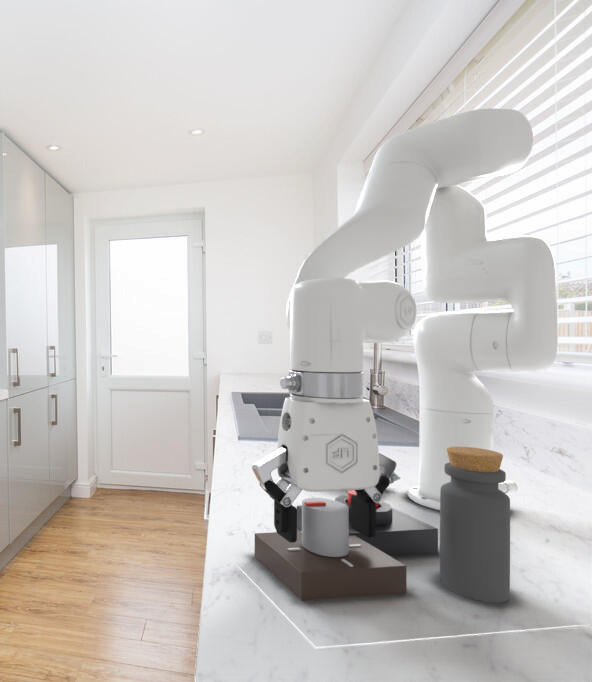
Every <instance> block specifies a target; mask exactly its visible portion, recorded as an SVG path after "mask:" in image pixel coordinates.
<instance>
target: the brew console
mask: <svg viewBox="0 0 592 682" xmlns="http://www.w3.org/2000/svg"><path fill="white" fill-rule="evenodd" d="M254 559H256V560H257V561H258V562H259V563H260V564H261V565H262V566H263V567H264V568H265V569H267V570H268V571H269V572H270V573H271V574H272V575H273V576H274V577H275V578H276V579H278V580H279V582H281V583H282V585H284V586H285V587H286V588H287V589H288V590H289V591H290V592H291V593H292V594H293V595H295V597H297V598H298V600H300V601H301V602H303V601H319V600H329V599H330V600H331V599H347V598H358V597H359V598H360V597H373V596H387V595H401V594H402V595H403V594H407V573H408V571H407V567H408V566H407V565H406V564H404V563H403V562H401V561H399V560H397V559H396V558H395V557H393V556H389V555H387V554H386V553H384V552H382V551H380V550H379V549H377V548H375V547H374V546H372V545H370V544H369V543H367V542H365V541H364V540H362V539H360V538H358V537H357V536H355V535H349V553H348V554H347V555H346V556H343V557H328V556H322V555H319V554H315V553H313V552H310V551H308V550H307V549H305V548H304V547H303V546H302V531H301V530H297V541H296V542H292V543H290V542H289V541H287V540H286V539H285V538H283V537H282V536H280V535H279V534H278V533H277V531H276V532H257V533H255V532H254Z"/></svg>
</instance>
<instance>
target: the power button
mask: <svg viewBox="0 0 592 682" xmlns="http://www.w3.org/2000/svg"><path fill="white" fill-rule="evenodd" d="M353 494H356V495H357V493H356V492H355V491H354V490H347V495H348V504H350V505H351V497H352V495H353ZM378 508H379V502H378V503H376V509H378Z"/></svg>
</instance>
